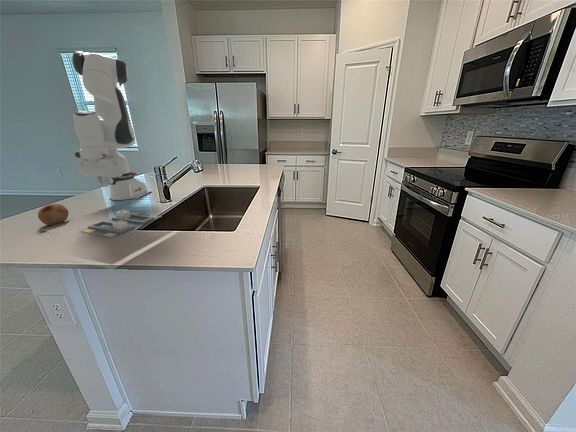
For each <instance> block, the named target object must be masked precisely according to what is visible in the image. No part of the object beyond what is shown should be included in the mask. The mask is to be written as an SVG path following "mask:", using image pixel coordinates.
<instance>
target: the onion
mask: <svg viewBox="0 0 576 432" xmlns="http://www.w3.org/2000/svg"><path fill="white" fill-rule="evenodd" d="M68 217H69V211H68V209H67V207H66V206H64V205H62V204H60V203H49V204H47V205H44V206H42V207H41V208H40V209H39V211H38V212H37V218H38V219H39V220H40V221H41V223H43V224H44V225H48V226H55V225H59V224H62V223H64V222H66V221H67V219H68ZM40 221H39V222H40Z"/></svg>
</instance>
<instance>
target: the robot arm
mask: <svg viewBox="0 0 576 432" xmlns="http://www.w3.org/2000/svg"><path fill="white" fill-rule="evenodd" d="M71 63H72V66H73V68H74V70H75V72H76V73H77V74H79V75H80V76H82V84H83V86H84V88H85V90H86V91H87V92H88V93H89V94H90V95H91V96H93V104H94V111H91V110H80V111H79V110H78V111H75V112H74V113H73V115H72V116H73V119H72V120H73V124H74V129H75V134H76V136H77V138H78V139H79V147H80V149H79V150H76V151H74V152H73V156H74V158H76V159H75V160H76V165H77V168H78V172H79V173H80V174H81V175H82V176H92V177H95V179H96V180H97V182H98V184H99V186H100V187H107V188H108V187H109V200H114V201H121V200H122V201H125V200H132V199H133V200H135V199H139V198H141V197H143V195H144V196H145V194H146V195H148V194H150V193H149V192H151V191H152V189H150V188H147V185H146V183H145V182H144V181H143V180H142V181H141V180H140V179H138V178H136V177H135V176H137V175H138V172H137V171H131V170H130V165H129V160H128V158H127V156H125V155H123V154H122V153H121V152H120V151H119V150H118V149H124V148H129V147H133V146H134V144H135V142H136V136H135V131H134V128H133V126H132V123H131V120H130V116H129V112H128V108H127V104H126V101H125V99H124V95H123V93H122V92H121V90H120V88H118V85H119V87H121V86H122V85H124V84H126V83H127V82H128V80H129V77H130V71H129V68H128V65H127V63H126V62H125V61H124V60H122V59H119V58H115V57H112V56H108V55H104V54H101V53H96V52H84V51H83V50H81V51H80V50H79V51H78V50H76V51H74V52H73V53H72V58H71ZM117 83H118V84H117ZM100 118H101V120H100ZM147 193H148V194H147ZM151 193H152V192H151ZM140 196H141V197H140Z"/></svg>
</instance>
